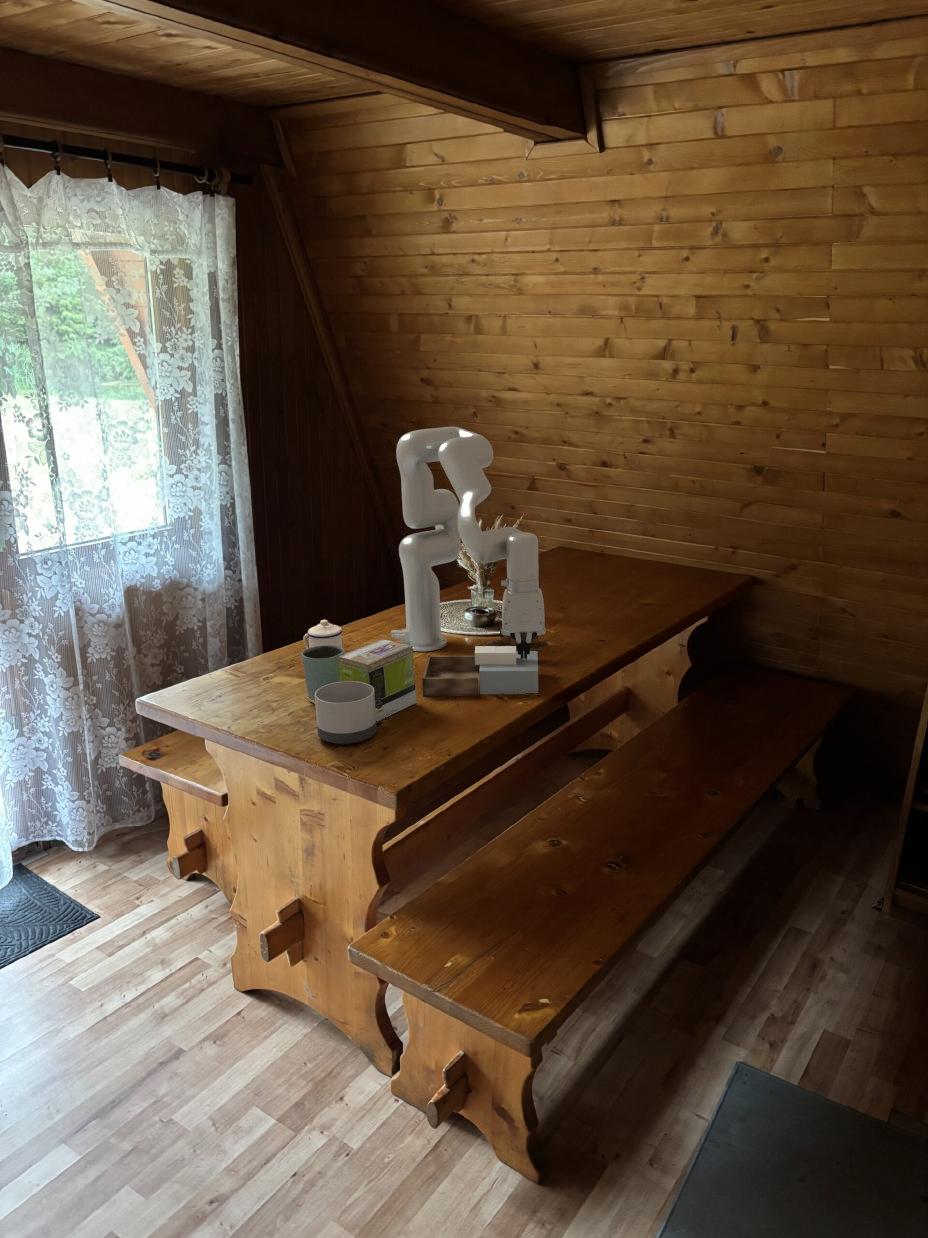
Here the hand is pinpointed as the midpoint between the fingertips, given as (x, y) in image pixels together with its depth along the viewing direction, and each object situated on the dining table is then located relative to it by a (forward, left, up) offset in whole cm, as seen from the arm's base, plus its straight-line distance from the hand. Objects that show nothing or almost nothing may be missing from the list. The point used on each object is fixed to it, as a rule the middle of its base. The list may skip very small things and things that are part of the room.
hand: (523, 656), depth 234 cm
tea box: (-34, -16, -7) cm, 38 cm away
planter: (-39, -31, -7) cm, 50 cm away
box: (-18, 0, -7) cm, 19 cm away
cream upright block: (-4, 0, -1) cm, 5 cm away
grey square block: (-4, 0, -7) cm, 8 cm away
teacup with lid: (-54, +17, -7) cm, 57 cm away
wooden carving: (-2, +16, -7) cm, 18 cm away
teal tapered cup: (-48, -9, -7) cm, 49 cm away
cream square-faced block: (-9, 0, -1) cm, 9 cm away
